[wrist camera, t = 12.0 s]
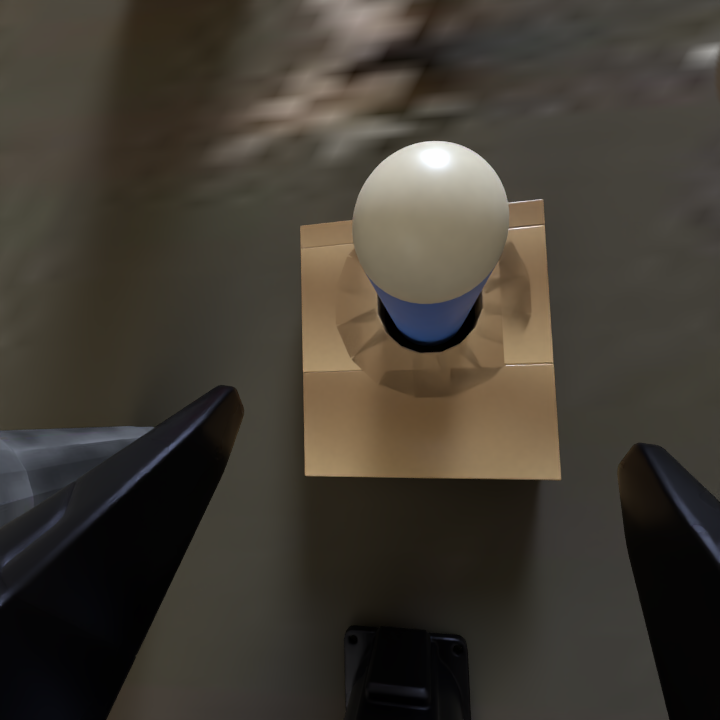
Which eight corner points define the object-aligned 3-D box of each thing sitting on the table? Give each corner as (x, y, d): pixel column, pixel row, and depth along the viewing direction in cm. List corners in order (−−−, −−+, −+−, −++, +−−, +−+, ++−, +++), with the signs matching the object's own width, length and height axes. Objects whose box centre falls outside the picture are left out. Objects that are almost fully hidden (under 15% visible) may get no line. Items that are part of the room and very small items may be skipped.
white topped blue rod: (466, 345, 21) (533, 275, 7) (394, 347, 21) (337, 290, 8) (463, 274, 21) (522, 84, 8) (392, 279, 22) (333, 114, 8)
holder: (541, 465, 20) (561, 480, 17) (321, 463, 22) (304, 476, 19) (526, 220, 20) (543, 193, 17) (316, 242, 23) (299, 221, 20)
